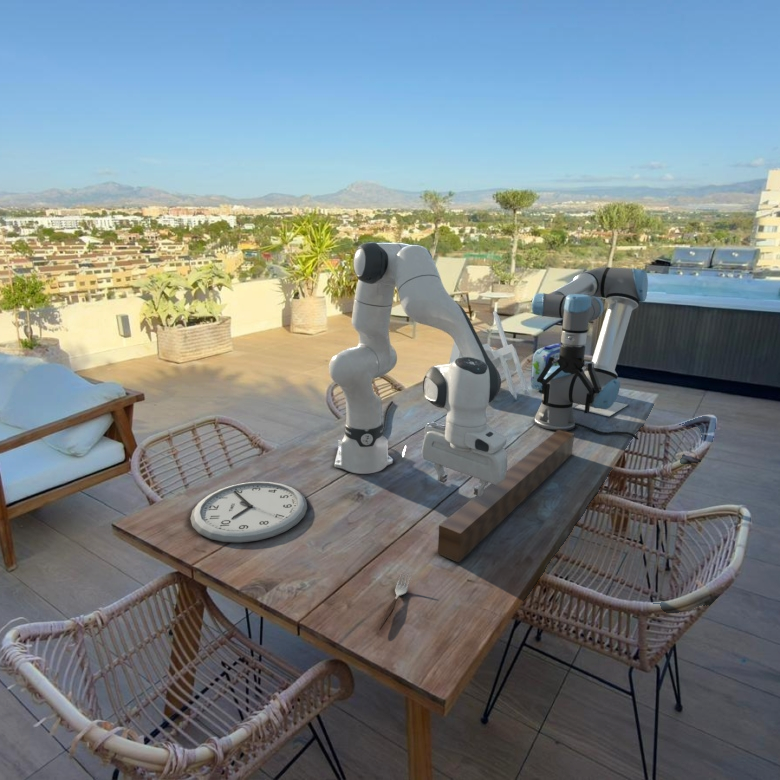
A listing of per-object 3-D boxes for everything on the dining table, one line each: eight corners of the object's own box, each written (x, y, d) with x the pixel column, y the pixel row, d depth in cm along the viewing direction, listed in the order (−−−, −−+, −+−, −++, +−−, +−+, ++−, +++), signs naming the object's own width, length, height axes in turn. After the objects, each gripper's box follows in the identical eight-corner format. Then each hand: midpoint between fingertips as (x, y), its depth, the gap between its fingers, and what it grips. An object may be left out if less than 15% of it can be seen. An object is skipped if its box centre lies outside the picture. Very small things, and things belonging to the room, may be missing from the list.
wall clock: (302, 534, 126) (174, 538, 123) (303, 540, 126) (175, 544, 124) (310, 477, 154) (206, 479, 152) (310, 482, 155) (206, 484, 152)
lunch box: (547, 395, 239) (552, 351, 233) (526, 390, 247) (530, 347, 240) (574, 384, 257) (579, 343, 251) (554, 380, 264) (558, 339, 258)
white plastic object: (461, 429, 252) (437, 405, 227) (444, 352, 274) (420, 323, 250) (535, 404, 240) (518, 377, 215) (510, 326, 262) (492, 293, 237)
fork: (373, 630, 99) (373, 621, 98) (400, 579, 113) (400, 571, 112) (386, 633, 98) (386, 625, 97) (412, 582, 112) (412, 574, 112)
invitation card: (608, 416, 214) (573, 407, 224) (608, 416, 214) (573, 408, 224) (628, 404, 229) (594, 396, 238) (628, 405, 229) (594, 397, 238)
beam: (555, 450, 181) (558, 429, 179) (571, 454, 178) (574, 433, 176) (437, 553, 122) (439, 525, 120) (458, 562, 119) (460, 533, 117)
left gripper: (418, 423, 118) (414, 478, 123) (500, 449, 107) (493, 508, 111) (433, 416, 123) (429, 469, 128) (513, 440, 112) (506, 497, 116)
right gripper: (530, 341, 169) (525, 402, 175) (610, 352, 155) (601, 419, 161) (539, 337, 174) (533, 397, 181) (617, 347, 160) (608, 412, 167)
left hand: (459, 487), depth 119 cm, fingers open, 8 cm apart
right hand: (565, 407), depth 171 cm, fingers open, 13 cm apart
